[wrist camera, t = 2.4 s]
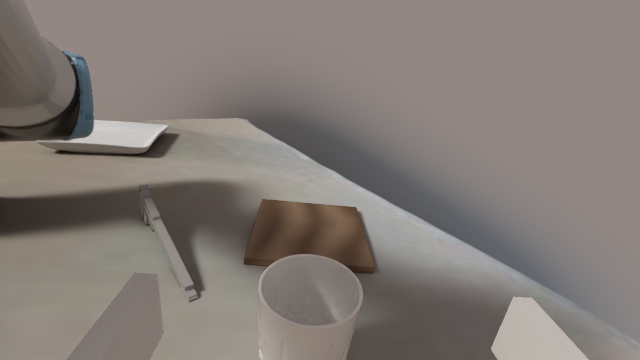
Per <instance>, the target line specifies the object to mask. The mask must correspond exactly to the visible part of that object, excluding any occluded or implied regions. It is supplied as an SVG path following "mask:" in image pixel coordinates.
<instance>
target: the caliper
mask: <svg viewBox="0 0 640 360" xmlns="http://www.w3.org/2000/svg"><path fill="white" fill-rule="evenodd" d="M139 197H140V208H141V216H142V219H144V220H145V225H148V224H150V226H151V228H152V231H153V232H154V231H155V233H156V236H157V238H158V240H159V242H160V244H161V246H162V248H163V251H164V253H165V255H166V257H167V259H168V261H169V264H170V266H171V268H172V270H173V272H174V274H175V277H176V279H177V281H178V283H179V285H180V287H181V289H182V291H183V292H184V294H185V295H186V297H187V299H188V301H189V302H190V301H192V300H195V299H197V298H198V296H197V293H196V291H195V289H194V284H193V282H192V280H191V278H190V276H189V274H188V272H187V270H186V268H185V266H184V264H183V262H182V260H181V258H180V256H179V254H178V252H177V250H176V248H175V246H174V244H173V242H172V240H171V238H170V236H169V234H168V232H167V230H166V228H165V226H164V224H163V222H162V220H161V216H160V214H159V212H158V210H157V208H156V206H155V203H154V201H153V199H152V198H151V197H150V189H148V184H147V185H140V190H139Z"/></svg>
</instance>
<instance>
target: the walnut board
mask: <svg viewBox="0 0 640 360" xmlns="http://www.w3.org/2000/svg"><path fill="white" fill-rule="evenodd" d="M298 254H313V255H320V256H324V257H327V258H330V259H333V260H335V261H337V262H339V263H341V264H343V265H344V266H346V267H347V268H348V269H350V270H351V271H352V272H361V273H374V269H375V266H374V263H373V260H372V257H371V253H370V250H369V247H368V244H367V240H366V237H365V234H364V231H363V227H362V224H361V221H360V218H359V214H358V211H357V208H356V207H347V206H335V205H324V204H312V203H301V202H289V201H278V200H266V199H262V202H261V205H260V208H259V212H258V215H257V218H256V221H255V225H254V228H253V231H252V235H251V238H250V241H249V244H248V248H247V251H246V254H245V258H244V264H248V265H262V266H270V265H271V264H272V263H274V262H275V261H277V260H279V259H282V258H284V257H288V256H292V255H298Z"/></svg>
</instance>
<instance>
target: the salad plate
mask: <svg viewBox="0 0 640 360" xmlns="http://www.w3.org/2000/svg"><path fill="white" fill-rule="evenodd" d="M167 128H168V125H159V124H146V123H133V122H119V121H101V120H100V121H99V120H94V128H93V132H92V133H91V134H90V135H89V136H88V137H85V138H78V139H71V140H68V141H64V140H38V141H36V142H37V143H39V144H41V145H43V146H45V147H48V148H52V149H57V150H65V151H69V152H83V153H106V154H139V153H143V152H146V151H147V150H148V149H149V148H150V146H151V145H152V143H153V142H154V141H155V140H156V139H157V138H158V137H159V136H161V135H162V134H163V133H164V132H165V131H166V130H167Z"/></svg>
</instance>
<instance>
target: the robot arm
mask: <svg viewBox="0 0 640 360" xmlns="http://www.w3.org/2000/svg"><path fill="white" fill-rule="evenodd" d="M93 128H94V116H93V96H92V87H91V80H90V75H89V69H88V66H87V64H86V61H85V59H84V58H83V57H82V56H80V55H78V54H71V53H70V52H65V51H62V52H61V51H60V50H59V49H58V48H57V47H56V46H55V45H54V44H53V43H51V42H50V41H48V40H47V39H45V38H44V37H42V36H41V35H40V33H39V31H38V29H37V27H36V25H35V23H34V21H33V19H32V16H31V15H30V12H29V10H28V8H27V6H26V4H25V2H24V0H0V142H6V141H38V140H64V141H68V140H71V139H78V138H85V137H88V136H89V135H90V134H91V133H92V132H93ZM163 333H164V332H163V322H162V313H161V303H160V293H159V284H158V274H144V273H134V275H133V276H132V277H131V278H130V280H129V281H128V282H127V283H126V285H125V286H124V287H123V289H122V290H121V291H120V292H119V294H118V295H117V296H116V297H115V299H114V300H113V301H112V303H111V304H110V305H109V306H108V308H107V309H106V310H105V311H104V313H103V314H102V315H101V317H100V318H99V319H98V320H97V322H96V323H95V324H94V325H93V327H92V328H91V329H90V331H89V332H88V333H87V334H86V336H85V337H84V338H83V339H82V341H81V342H80V343H79V345H78V346H77V347H76V348H75V350H74V351H73V352H72V353H71V355H70V356H69V357H68V359H67V360H150V358H151V356H152V354H153V352H154V350H155V348H156V347H157V345H158V343H159V341H160V339H161V337H162V335H163ZM491 350H492V352H493V353H494V355H495V357H496V358H497V360H589V359H588V358H587V357H586V356H585V355H584V354H583V353H582V352H581V350H580V349H579V348H578V347H577V346H576V345H575V344H574V343H573V342H572V341H571V340H570V338H569V337H568V336H567V335H566V334H565V333H564V332H563V331H562V330H561V329H560V328H559V327H558V325H557V324H556V323H555V322H554V321H553V320H552V319H551V318H550V317H549V316H548V315H547V313H546V312H545V311H544V310H543V309H542V308H541V307H540V306H539V305H538V304H537V303H536V301H535V300H534V299H533V298H525V297H513V299H512V301H511V303H510V306H509V308H508V310H507V313H506V315H505V317H504V320H503V322H502V324H501V326H500V329H499V331H498V333H497V336H496V338H495V340H494V343H493V345H492V347H491Z"/></svg>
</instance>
